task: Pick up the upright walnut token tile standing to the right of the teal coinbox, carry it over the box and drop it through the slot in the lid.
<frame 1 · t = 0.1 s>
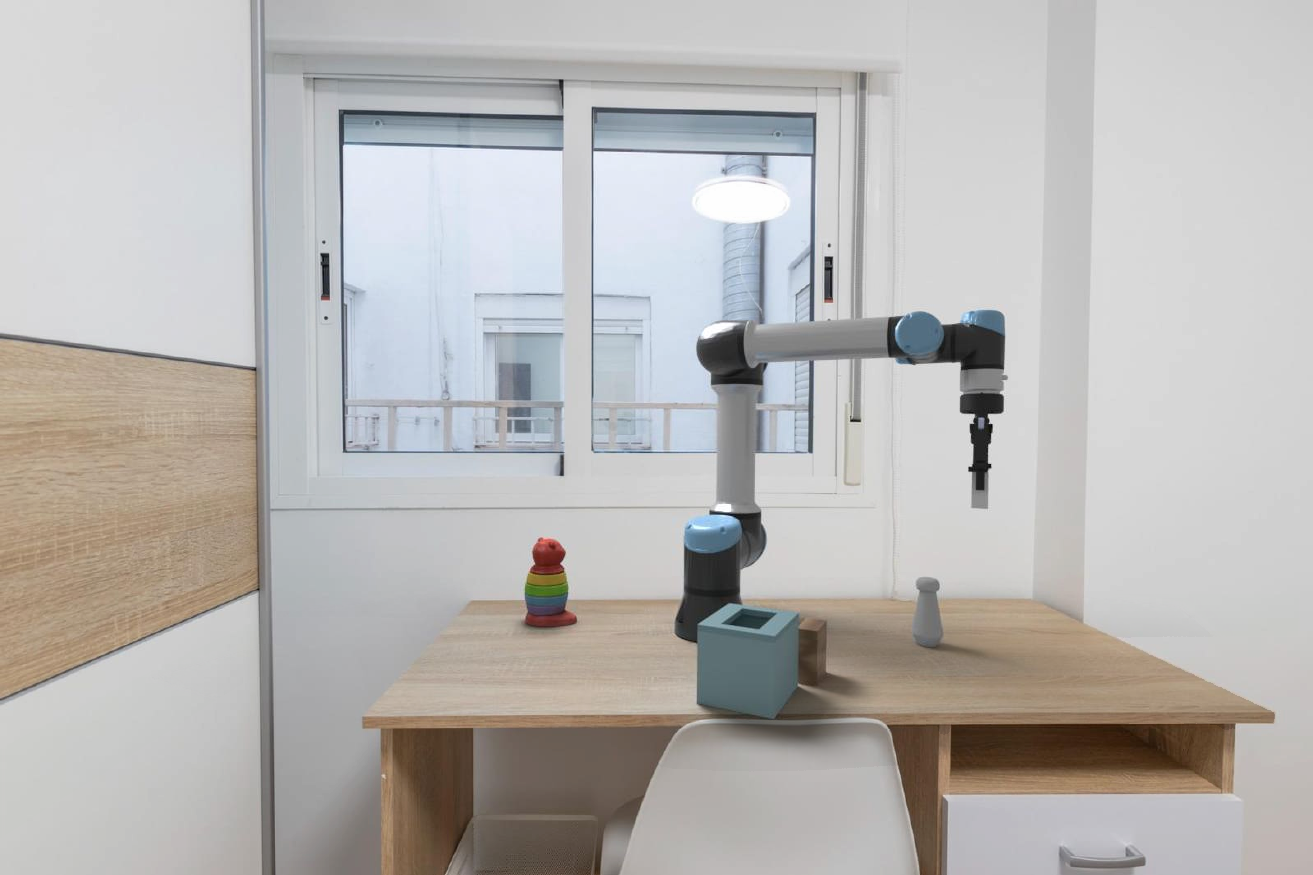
hand: (979, 505, 125), 28 cm above the table, fingers open, 13 cm apart
token: (811, 677, 111), on the table
stacking bear: (547, 621, 142), on the table
salt shaker: (926, 645, 130), on the table
coinbox: (749, 694, 104), on the table
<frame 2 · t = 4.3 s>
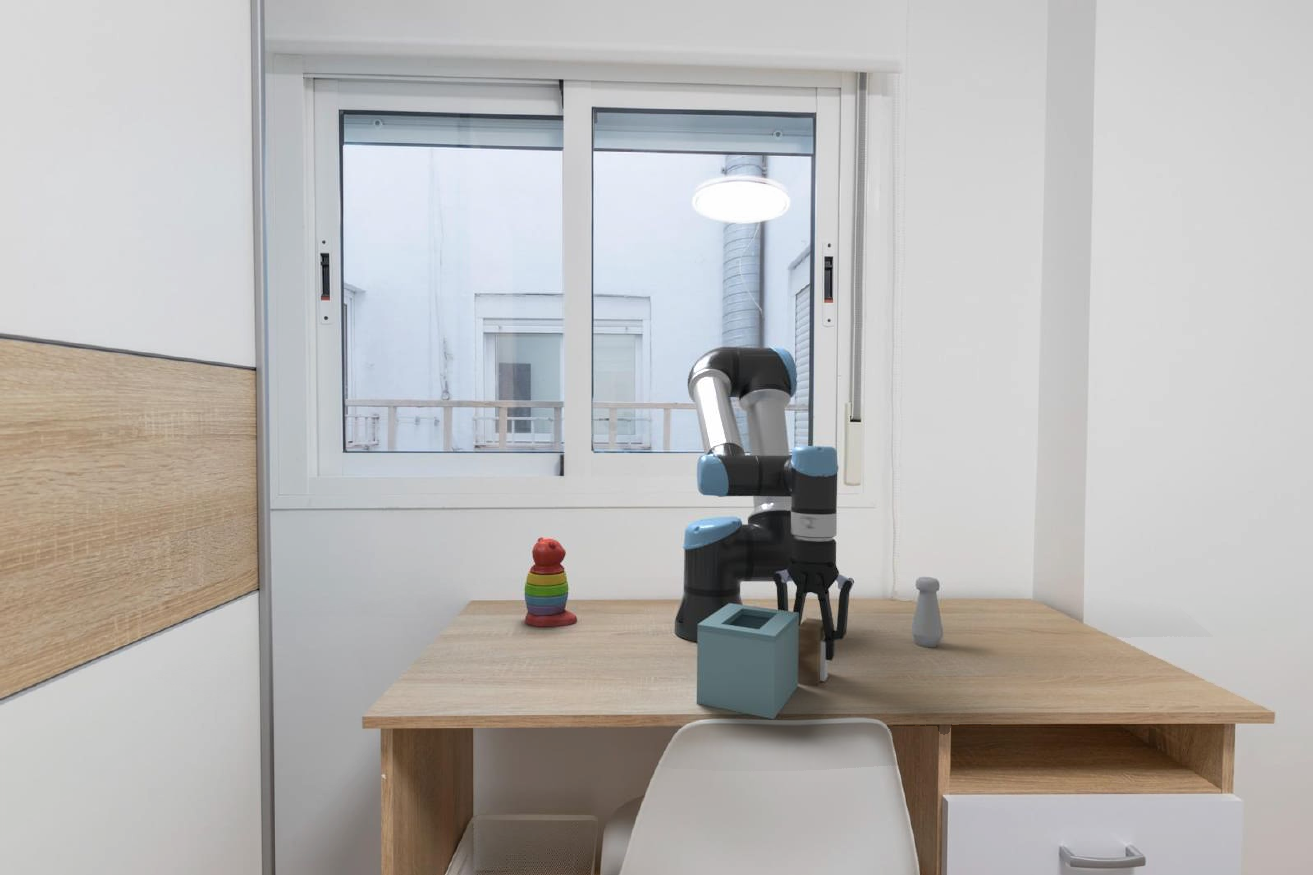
hand: (811, 675, 111), 0 cm above the table, fingers closed on token, 3 cm apart
token: (811, 677, 111), on the table, touching gripper
everything else where it was.
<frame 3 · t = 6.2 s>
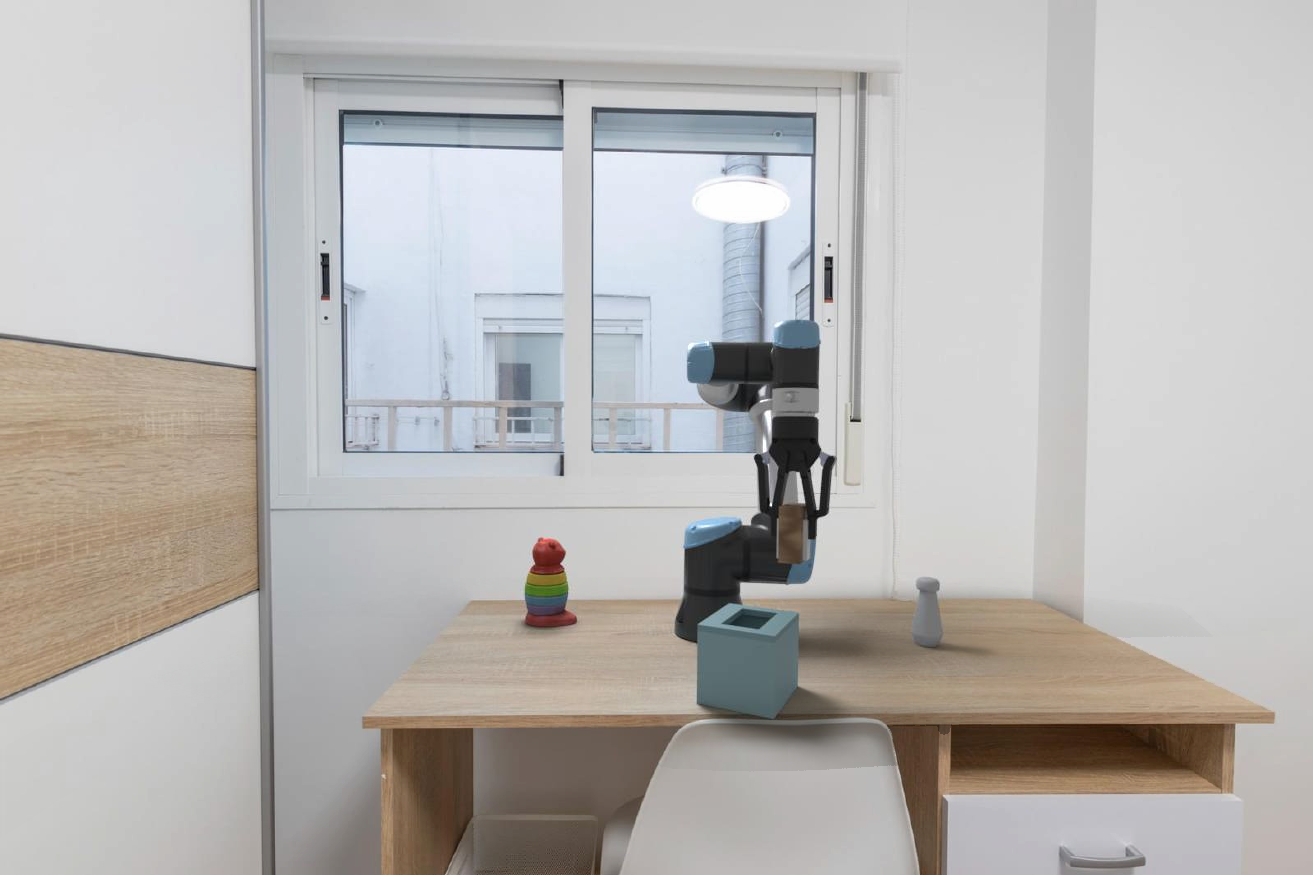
hand: (793, 557, 108), 21 cm above the table, fingers closed on token, 3 cm apart
token: (793, 559, 108), point 20 cm above the table, touching gripper
everything else where it was.
when the fingers open (13 cm above the table, at t = 7.7 s): token drops 11 cm, resting on coinbox.
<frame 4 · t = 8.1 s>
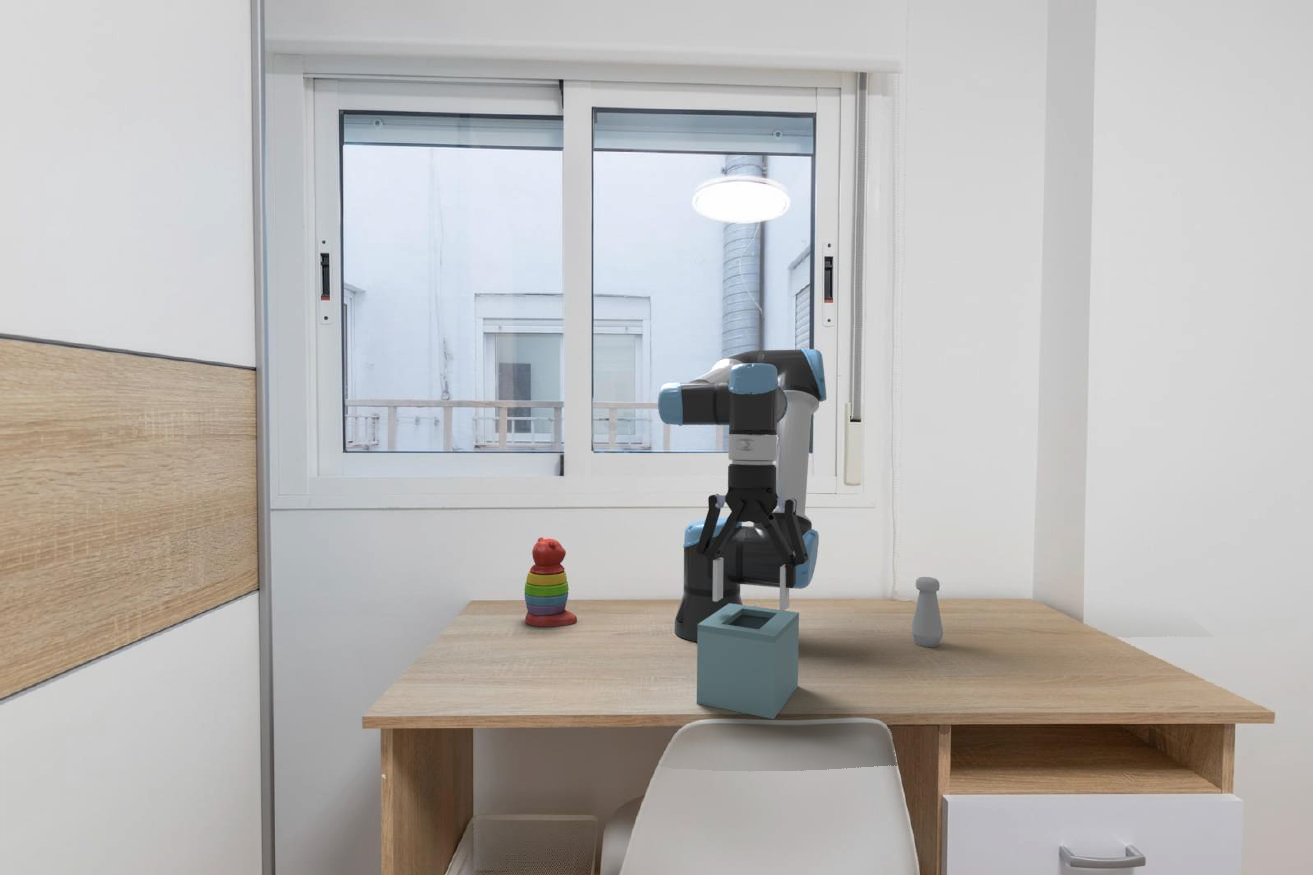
hand: (750, 603, 103), 14 cm above the table, fingers open, 10 cm apart
token: (751, 685, 104), point 1 cm above the table, tilted 20°, touching coinbox
everything else where it was.
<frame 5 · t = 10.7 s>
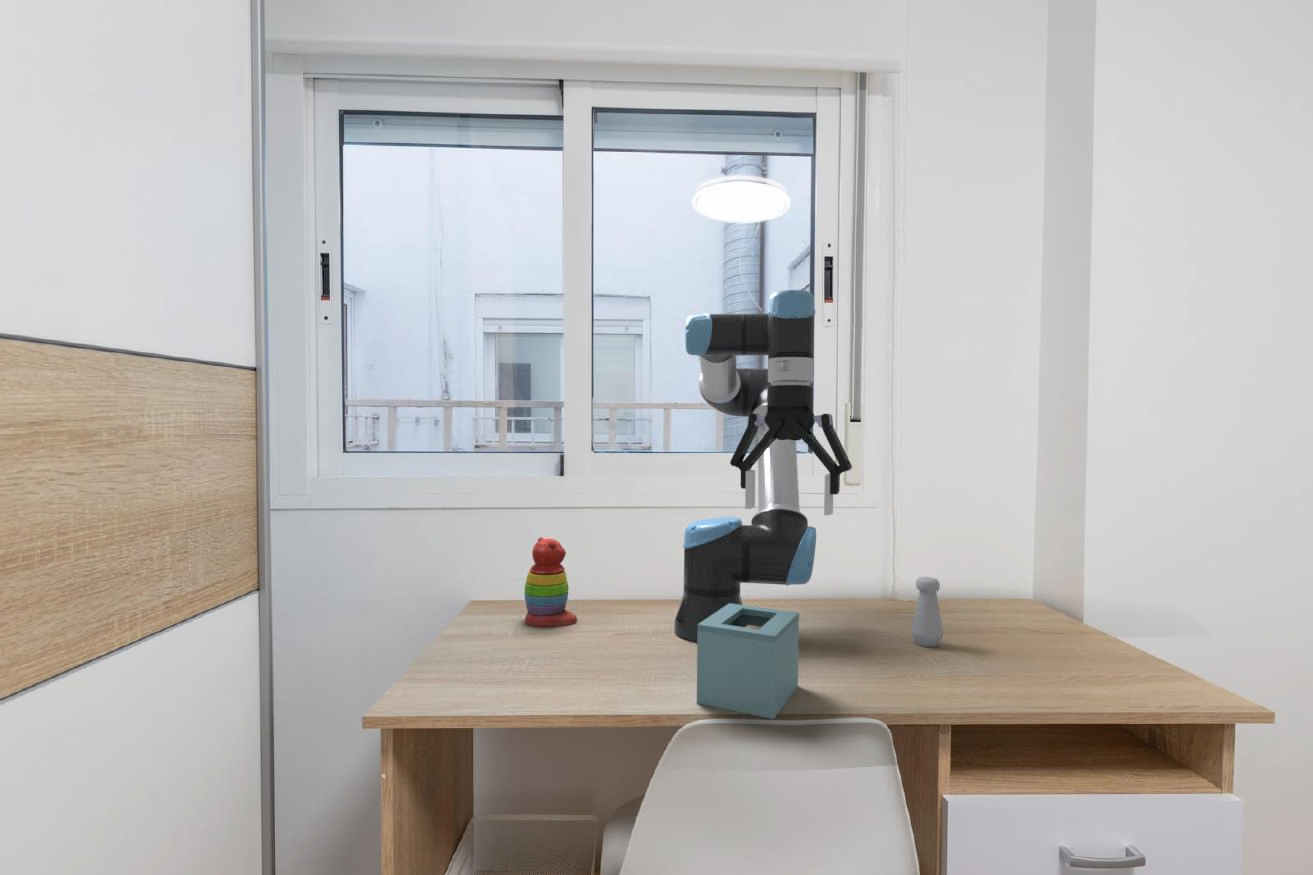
hand: (788, 511, 111), 28 cm above the table, fingers open, 13 cm apart
token: (750, 689, 104), point 1 cm above the table, touching coinbox
everything else where it was.
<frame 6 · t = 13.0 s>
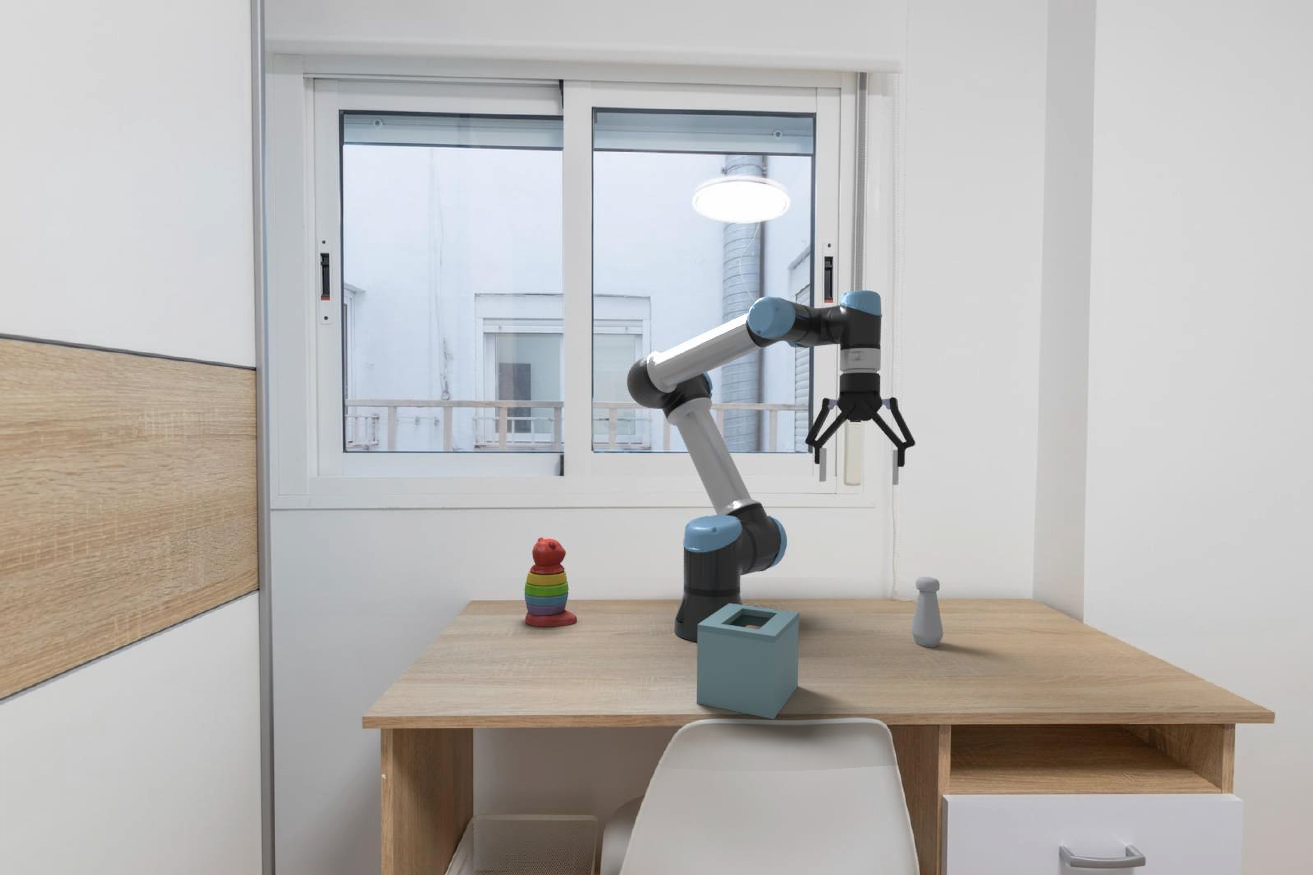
hand: (858, 483, 127), 32 cm above the table, fingers open, 13 cm apart
nothing on the table moved.
at the end: token inside the target area on the coinbox (0.2 cm from its centre), point 0.8 cm above the coinbox's base; the gripper is holding nothing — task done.
